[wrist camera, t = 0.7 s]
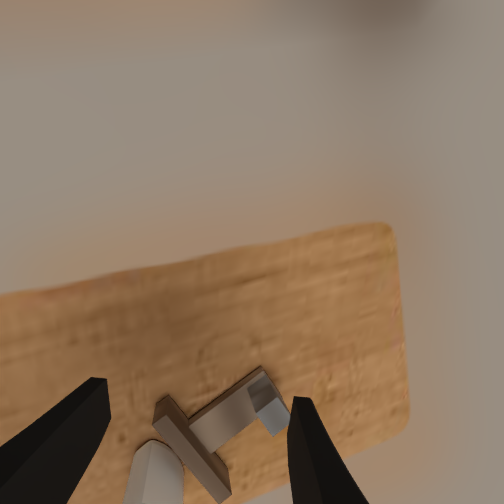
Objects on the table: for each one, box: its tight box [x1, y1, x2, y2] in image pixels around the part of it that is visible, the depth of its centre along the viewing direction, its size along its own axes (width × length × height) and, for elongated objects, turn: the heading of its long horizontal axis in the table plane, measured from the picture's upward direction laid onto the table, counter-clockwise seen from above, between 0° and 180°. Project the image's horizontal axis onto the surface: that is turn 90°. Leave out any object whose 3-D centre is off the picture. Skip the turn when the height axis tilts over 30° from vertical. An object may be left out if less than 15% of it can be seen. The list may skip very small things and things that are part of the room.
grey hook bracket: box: [152, 367, 291, 504], centre depth 28 cm, size 11×11×5 cm
